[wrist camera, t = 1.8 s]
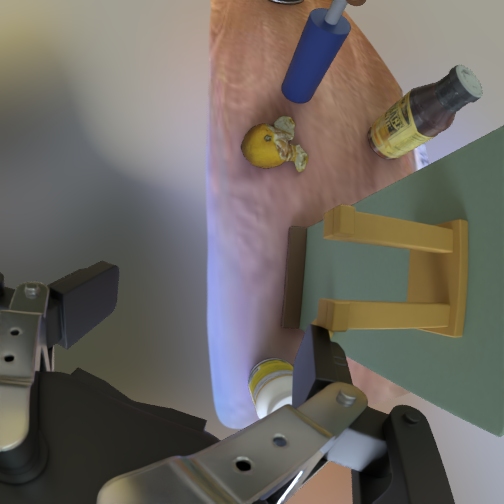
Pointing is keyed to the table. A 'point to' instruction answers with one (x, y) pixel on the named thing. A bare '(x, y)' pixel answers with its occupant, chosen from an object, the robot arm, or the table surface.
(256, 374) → the pill bottle
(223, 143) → the table surface
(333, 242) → the green panel
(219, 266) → the table surface
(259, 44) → the table surface
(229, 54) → the table surface
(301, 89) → the t-handle plunger
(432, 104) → the sauce bottle
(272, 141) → the fruit
